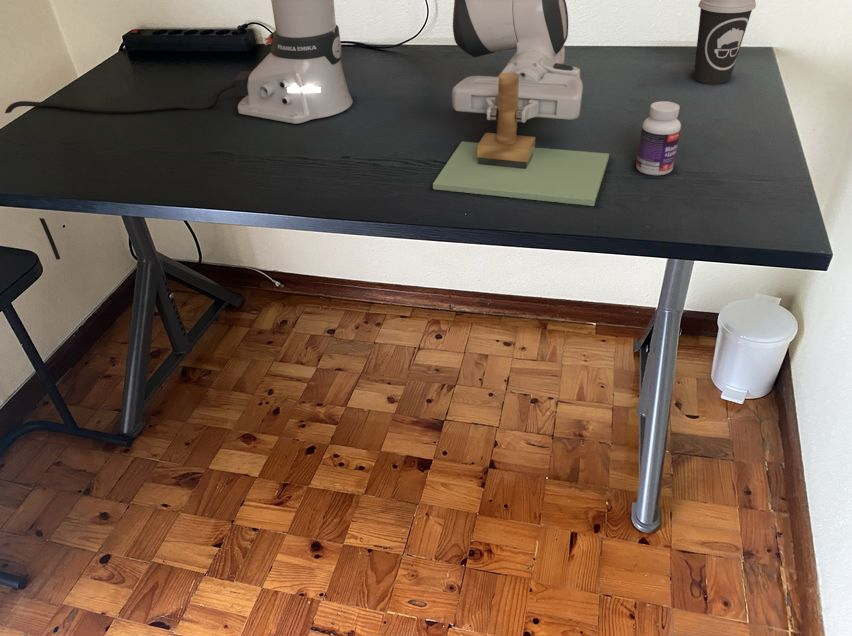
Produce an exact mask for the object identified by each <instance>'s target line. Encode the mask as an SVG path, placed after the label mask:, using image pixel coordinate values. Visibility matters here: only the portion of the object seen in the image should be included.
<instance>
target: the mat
mask: <svg viewBox="0 0 852 636" xmlns="http://www.w3.org/2000/svg"><path fill="white" fill-rule="evenodd" d="M478 143H479V142H474V141H472V142H471V141H461V142H460V143H459V144H458V146H457V147H456V149H455V151H454V152H453V153H452V155H451V156H450V158H449V159H448V161H447V162H446V164H445V165H444V167H443V168H442V169H441V171H440V172H439V173H438V175H437V177H436V178H435V180H434V181H433V182H432V190H434V191H435V190H437V191H445V192H453V193H454V192H455V193H465V194H475V195H484V196H493V197H503V198H511V199H512V198H513V199H521V200H522V199H524V200H531V201H540V202H551V203H561V204H569V205H580V206H587V207H588V206H589V207H594V206H595V204H596V202H597V201H596V200H597V198H598V194H599V191H600V188H601V184H602V182H603V179H604V175H605V172H606V170H607V166H608V163H609V160H610V153H609V152H608V153H607V152H594V151H582V150H570V149H559V148H558V149H557V148H548V147H547V148H546V147H535V149H534V151H533V157H532V159H531V161H530V163H529V164H528V166H527V168H526V169H522V168H512V167H503V166H493V165H483V164H478V157H477V145H478Z"/></svg>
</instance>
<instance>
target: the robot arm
mask: <svg viewBox="0 0 852 636" xmlns="http://www.w3.org/2000/svg"><path fill="white" fill-rule="evenodd" d="M270 1H271V9H272V15H273V21H274V27H275V30H274V31H273V32H271V33H270V34H269V35H268V37H267V38H264V41H266V42H265V44H264V46H268V45H270V50H269V51H270V52H269V53H268V54H267V55H266V56H265V58H263V59H262V61H260V63H258V64H257V65H256V67H254V68H253V70H245V71H244V70H243V71H240V72H239V73H238V74H237V76H236V77H234V79H233V81H231V82H229V83H226V84H224V85H222V86H220V87H219V88H218V89H217V90H216V91H215V92H214V94H213V96H212V98H211V100H210V101H209V102H207V103H204V104H203V103H202V104H191V103H181V102H180V103H165V104H156V105H148V106H147V105H145V106H133V107H104V106H103V107H102V106H90V105H81V104H71V103H64V102H63V103H62V102H54V101H30V100H29V101H28V100H21V101H16V102H13V103H11V104H9V105H8V106H7V108H6V109H5V111H4V113H5V114H10V113H12V111H14V110H15V109H16V108H18V107H19V108H21V107H33V108H58V109H65V110H71V111H81V112H90V113H105V114H106V113H107V114H127V113H128V114H129V113H146V112H154V111H164V110H175V109H177V110H178V109H179V110H181V109H182V110H207V109H211V108H213V107H214V106H215V105H216V104H217V102H218V100H219V97H220V96H221V95H222V94H223V93H225V92H226V91H228V90H231V89H234V88H235V93H236V96H237V97H243V98H242V99H241V100H240V101H239V103H238V104H237V113H238V114H240V115H244V116H251V117H255V118H262V119H266V120H273V121H278V122H283V123H289V124H297V125H298V124H303V123H306V122H308V121H311V120H316V119H317V120H318V119H321V118H327V117H332V116H334V115H337V114H341V113H343V112H345V111H347V110H348V109H350V107H351V106H352V105H353V102H354V100H353V98H352V95H351V93H350V90H349V87H348V84H347V81H346V78H345V77H346V76H345V72H344V68H343V64H342V57H343V56H342V41H341V35H340V27H339V26H338V24H337V21H336V10H335V2H334V0H270ZM452 34H453V39H454V42H455V44H456V45H457V46H458V47H459V49H461V50H462V51H463V52H465V53H466V54H468V55H469V56H471V57H472V58H478V57H482V56H486V55H490V54H495V53H496V52H502V51H508V50H509V51H510V50H515V49H516V51H515V52H514V54H513V55H512V57H511V59H510V60H509V61H508V62H507V63H506V65H505V67H504V68H503V69H502V71H501V72H500V74H502V73H507V72H513V73H517V74H519V93H518V109H517V110H516V118H515V122H517V123H524V124H525V123H526V122H527V120H530V119H533V118H541V119H542V118H544V119H554V120H555V119H556V120H557V119H558V120H570V121H573V120H577V119H579V118H580V116H581V110H582V102H583V92H584V83H583V81H582V79H581V68H579V67H577V66H572V65H569V64H565V62H566V52H565V43H566V41H567V39H568V37H569V13H568V6H567V1H566V0H454V2H453V13H452ZM498 78H499V76H492V75H491V76H490V75H489V76H487V75H470V76H467V77H465V78H463V79H462V80H461V81H459V82H458V83H457V84H456V85H455V86H454V87H453V88H452V90H451V91H452V92H451V106H452V109H453V110H454V111H455V112H461V113H474V114H475V113H476V114H486V120H487V121H497V112H498ZM45 219H46V218H42V217H39V222H40V224H41V225H42V228H43V230H44V233H45V235H46V237H47V240H48V243H49V245H50V247H51V250H52V253H53V254H54V257H55V259H56V260H57V261H58V260H60V259H61V256H60V254H59V251H58V248H57V245H56V244H55V241H54V238H53V236H52V234H51V231H50V228H49V226H48V225H47V222H46V220H45Z"/></svg>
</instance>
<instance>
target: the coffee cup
mask: <svg viewBox="0 0 852 636" xmlns="http://www.w3.org/2000/svg"><path fill="white" fill-rule="evenodd" d="M698 7H699V8H700V12H699V22H698V30H697V31H698V32H697V40H696V50H695V61H694V69H693V80H694V81H696V82H698V83H702V84H707V85H721V84H726V83H728V82H729V81H730V80H731V77H732V74H733V72H734V68H735V65H736V62H737V58H738V56H739V52H740V48H741V47H742V42H743V39H744V36H745V33H746V30H747V27H748V24H749V21H750V17H751V14H752V11H753V10H755V9H756V7H757V2H756V0H699V3H698Z"/></svg>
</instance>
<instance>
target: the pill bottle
mask: <svg viewBox="0 0 852 636" xmlns="http://www.w3.org/2000/svg"><path fill="white" fill-rule="evenodd" d="M680 108H681V107H680V105H679V104H678V103H676V102H672V101H667V100H661V101H655V102H652V103H651V104H650V106H649V112H648V115H649V117H647V118H646V119H644V120H643V122H642V125H641V131H640V132H641V133H640V138H639V145H638V151H637V156H636V158H637V159H636V164H635V165H636V166H635V167H636V169H637V171H639V172H640V173H642V174H645V175H648V176H664V175H667V174H670V173H671V172H672V171H673V169H674V165H675V160H676V155H677V150H678V145H679V138H680V135H681V129H682V124H681V121H680V120H679V119H678V116H679V114H680Z"/></svg>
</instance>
